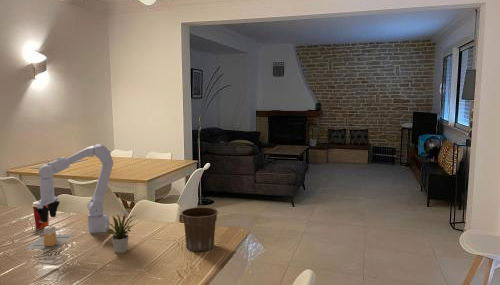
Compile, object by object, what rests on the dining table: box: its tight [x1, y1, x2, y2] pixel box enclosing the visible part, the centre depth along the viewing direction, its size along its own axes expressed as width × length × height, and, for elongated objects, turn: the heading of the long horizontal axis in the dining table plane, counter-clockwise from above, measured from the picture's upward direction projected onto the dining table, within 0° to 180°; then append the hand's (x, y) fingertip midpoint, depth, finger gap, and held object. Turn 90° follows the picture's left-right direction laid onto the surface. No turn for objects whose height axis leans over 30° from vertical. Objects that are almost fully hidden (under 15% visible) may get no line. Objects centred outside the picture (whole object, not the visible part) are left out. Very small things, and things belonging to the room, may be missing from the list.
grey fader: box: [43, 225, 57, 236], centre depth 180 cm, size 4×3×5 cm
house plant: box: [103, 213, 136, 254], centre depth 167 cm, size 14×14×16 cm
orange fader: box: [43, 233, 57, 246], centre depth 170 cm, size 4×3×5 cm
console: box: [24, 233, 76, 250], centre depth 175 cm, size 14×18×1 cm
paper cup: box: [32, 200, 50, 229], centre depth 196 cm, size 8×8×14 cm
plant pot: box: [180, 206, 219, 252], centre depth 171 cm, size 16×16×16 cm
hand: (48, 219), depth 180 cm, fingers open, 7 cm apart
